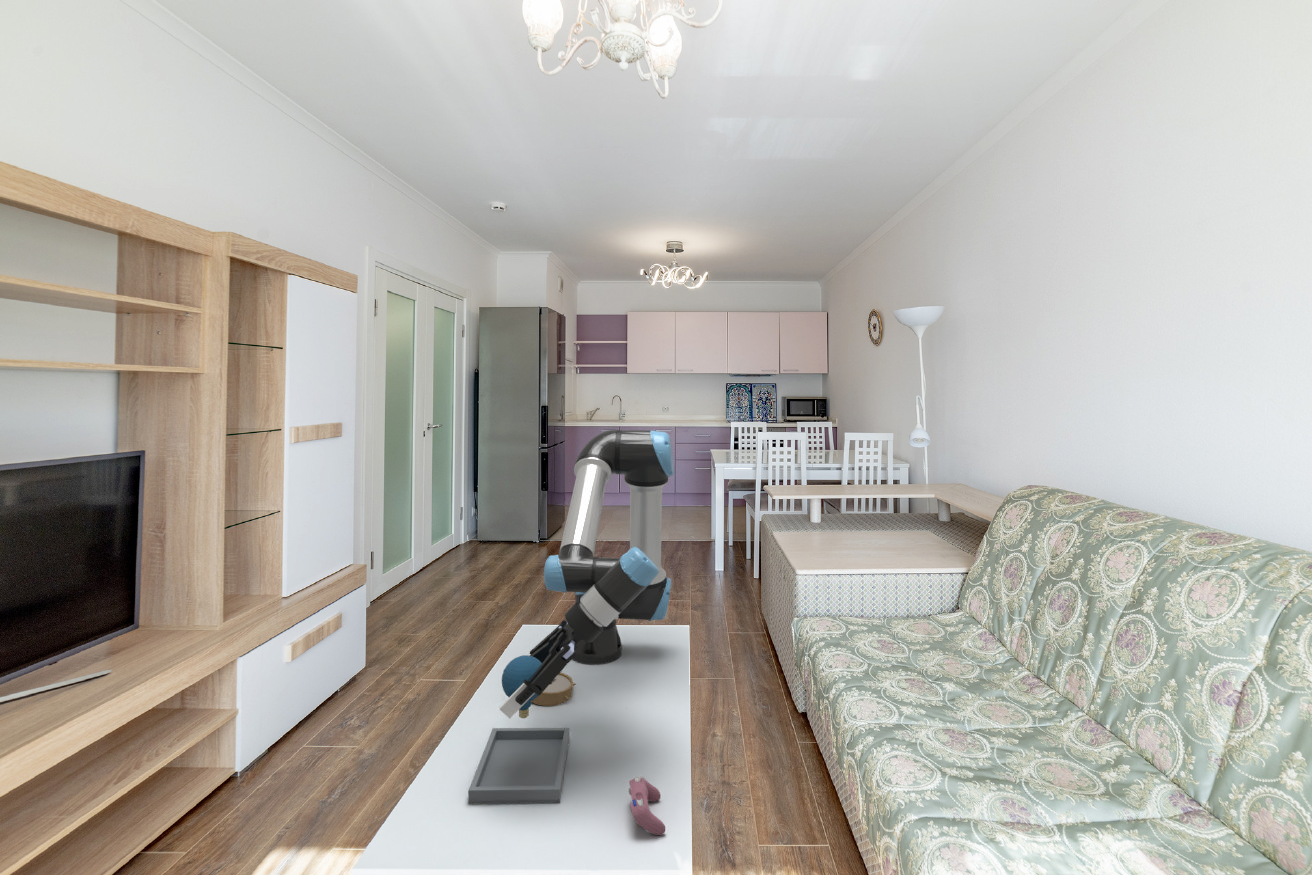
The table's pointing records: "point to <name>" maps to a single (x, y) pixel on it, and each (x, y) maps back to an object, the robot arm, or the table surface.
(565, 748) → the tray
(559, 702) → the alarm clock
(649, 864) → the table surface
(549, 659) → the robot arm
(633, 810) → the video game controller
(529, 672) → the light bulb
